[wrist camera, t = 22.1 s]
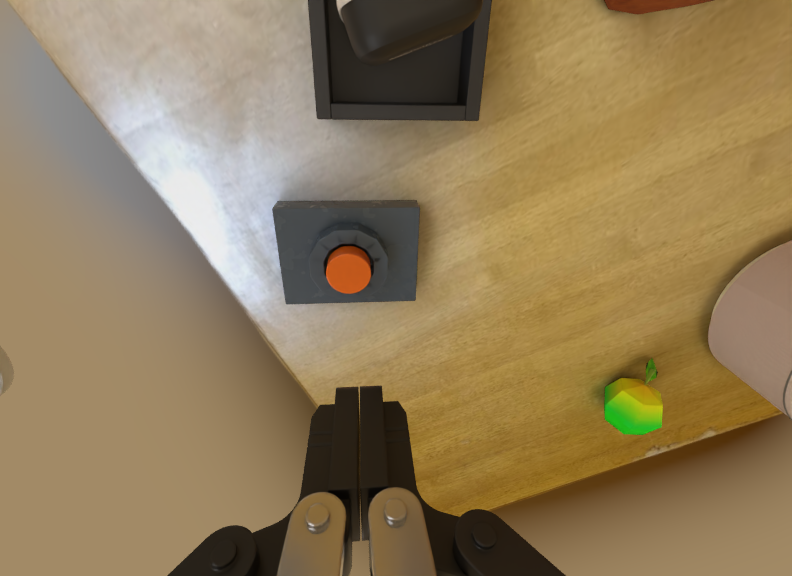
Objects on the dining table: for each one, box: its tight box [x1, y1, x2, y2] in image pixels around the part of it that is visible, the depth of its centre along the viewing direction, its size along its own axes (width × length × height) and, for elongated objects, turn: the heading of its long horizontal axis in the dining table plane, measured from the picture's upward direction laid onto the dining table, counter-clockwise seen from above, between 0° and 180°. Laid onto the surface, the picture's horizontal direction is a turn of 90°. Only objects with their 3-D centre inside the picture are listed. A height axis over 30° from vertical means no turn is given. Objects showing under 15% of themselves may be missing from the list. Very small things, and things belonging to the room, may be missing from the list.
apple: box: [604, 359, 663, 435], centre depth 44 cm, size 7×6×9 cm
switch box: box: [272, 200, 420, 304], centre depth 33 cm, size 12×9×4 cm
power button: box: [326, 246, 371, 294], centre depth 31 cm, size 4×4×2 cm
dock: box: [308, 0, 492, 121], centre depth 26 cm, size 12×12×4 cm
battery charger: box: [336, 0, 483, 66], centre depth 22 cm, size 7×4×11 cm, turn 108°
